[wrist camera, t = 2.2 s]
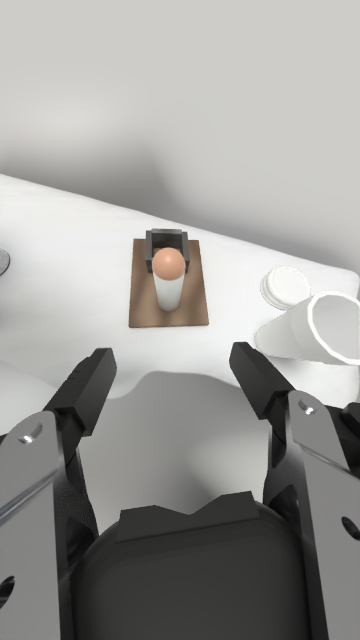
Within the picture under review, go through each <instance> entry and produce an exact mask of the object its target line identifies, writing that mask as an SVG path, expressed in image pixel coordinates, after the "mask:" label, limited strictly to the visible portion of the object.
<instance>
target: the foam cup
mask: <svg viewBox="0 0 360 640" xmlns="http://www.w3.org/2000/svg"><path fill="white" fill-rule="evenodd" d="M255 342H256V346H257V347H258V349H259V350H260V351H261V352H262V353H264V354H265V355H267V356H273V357H282V358H290V359H299V360H308V361H316V362H322V363H324V364H331V365H359V366H360V302H359V301H358V300H357V299H355V298H352V297H350V296H348V295H346V294H344V293H342V292H336V291H327V290H326V291H324V292H321V293H319V294H316V295H314V296H312V297H310V298H307V299H305V300H303V301H301V302H299V303H298V304H297V305H296V306H295V307H293V308H292V309H290V310H288V311H287V312H285V313H284V314H282V315H280V316H279V317H277V318H276V319H274V320H272V321H271V322H269V323H268V324H266V325H264V326H263V327H261V328H260V329H259V330H258V331H257V332H256V334H255Z"/></svg>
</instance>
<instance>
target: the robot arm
mask: <svg viewBox="0 0 360 640" xmlns="http://www.w3.org/2000/svg"><path fill="white" fill-rule="evenodd" d="M8 264H9V256H8V254H7V253H6V252H5V251H4V250H2V249H1V248H0V274H2V273H3V272H4V270H5V269H6V268H7V266H8ZM229 364H230V368H231V370H232V371H233V373H234V375H235V377H236V379H237V381H238V382H239V384H240V386H241V388H242V389H243V391H244V393H245V395H246V397H247V398H248V401H249V402H250V404H251V406H252V408H253V410H254V411H255V413H256V415H257V417H258V419H259V420H263V419H268V421H269V422H270V426H269V442H268V470H267V476H266V479H265V482H264V489H263V503H260V502H257V501H255V500H254V498H253V495H252V492H251V491H247V492H240V493H233V494H226V495H221V496H219V497H218V498H216V499H215V500H213V501H212V502H210V503H209V504H207V505H206V506H204V507H203V508H201V509H200V510H198V511H197V512H195V513H193V514H191V515H186V514H182V513H179V512H176V511H173V510H170V509H166V508H163V507H160V506H156V505H153V506H146V507H140V508H133V509H126V510H121V513H120V519H119V521H118V522H116V523H114V524H113V525H112V526H110V527H109V528H108V529H107V530H105V531H104V532H103V533H102V534H101V535H100V536H99V533H98V528H97V523H96V518H95V514H94V511H93V508H92V505H91V503H90V501H89V498H88V494H87V490H86V485H85V480H84V475H83V469H82V464H81V459H80V453H79V449H78V444H79V442H80V439H81V437H86V436H91V435H92V432H93V430H94V427H95V425H96V423H97V420H98V418H99V415H100V413H101V410H102V408H103V405H104V403H105V400H106V398H107V395H108V393H109V390H110V388H111V385H112V383H113V380H114V378H115V375H116V371H117V366H116V362H115V359H114V355H113V351H112V349H111V348H97V349H96V350H95V351H94V352H93V354H92V355H91V356H90V357H87V358H85V359H84V360H83V361H81V362H80V363H79V364H78V365H77V366H76V367H75V369H74V370H73V371H72V373H71V374H70V375H69V377H68V378H67V380H65V382H64V383H63V384H62V386H61V387H60V388H59V389H58V391H57V392H56V393H55V395H54V396H53V397H52V399H51V400H50V401H49V403H48V404H47V405H46V406H45V408H44V409H43V410H42V411H41V412H38V413H35V414H33V415H31V416H29V417H28V418H26V419H24V420H23V421H21V422H20V423H19V424H17V425H16V426H15V427H14V428H13V429H12V430H11V431H10V432H9V433H7V434H5V435H2V436H0V640H360V403H355V402H352V403H349V404H348V405H347V406H346V407H345V408H344V409H341V408H337V407H332V406H328V405H323V404H322V403H321V402H320V401H319V400H318V399H316V398H315V397H313V396H312V395H310V394H308V393H306V392H303V391H299V390H296V389H295V388H294V387H293V386H292V385H291V384H290V383H289V382H288V381H287V380H286V378H285V377H284V376H283V375H282V374H281V373H280V372H279V371H278V370H277V369H276V368H275V367H274V366H273V364H272V363H271V362H269V360H268V359H267V358H266V357H265V356H264V355H263V354H262V353H260V352H259V351H257V350H256V349H253V348H252V347H251V346H250V345H249V344H248V343H247V342H234V343H233V346H232V350H231V355H230V359H229Z"/></svg>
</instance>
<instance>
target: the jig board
mask: <svg viewBox="0 0 360 640" xmlns="http://www.w3.org/2000/svg"><path fill="white" fill-rule="evenodd" d="M163 248H174V249H176V250H177V251H179V252H180V253H181V254H182V256H183V258H184V260H185V266H186V267H185V274H184V279H183V285H182V291H181V297H180V303H179V306H178V308H177V309H176V310H174V311H171V312H167V311H164V310H162V309H161V308H160V306H159V303H158V297H157V292H156V286H155V281H154V275H153V269H152V261H153V258H154V256H155V254H156V253H157V252H158V251H159V250H161V249H163ZM208 324H209V320H208V312H207V304H206V296H205V288H204V280H203V272H202V264H201V256H200V248H199V240H188V236H187V232H182V230H180V229H152V231H146V239H134V243H133V260H132V276H131V293H130V310H129V327H130V328H138V327H167V326H196V325H208Z"/></svg>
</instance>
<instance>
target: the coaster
mask: <svg viewBox="0 0 360 640" xmlns="http://www.w3.org/2000/svg"><path fill="white" fill-rule="evenodd" d="M260 290H261V293H262V295H263V297H264V298H265V300H266V301H267V302H268V303H269V304H271V305H272V306H274V307H276V308H279V309H292V308H293V307H295V306H296V305H297V304H298V303H299V302H301V301H303V300H305V299H307V298H310V295H311V285H310V283H309V281H308V279H307V278H306V276H305V275H304V274H303V273H301V272H300V271H299V270H297V269H295V268H292V267H288V266H279V267H276V268H274V269H272V270H271V271H270V272H269V273H268V274H267V275H266V276H264V278H263V279H262V281H261V284H260Z"/></svg>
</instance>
